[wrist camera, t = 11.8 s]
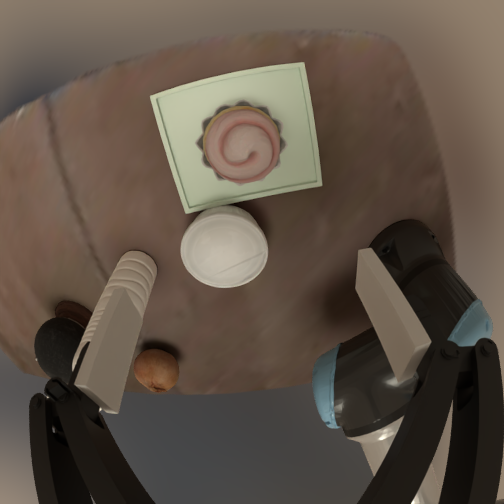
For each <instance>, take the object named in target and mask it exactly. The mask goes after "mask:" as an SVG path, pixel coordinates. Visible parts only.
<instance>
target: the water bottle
mask: <svg viewBox="0 0 504 504" xmlns="http://www.w3.org/2000/svg"><path fill="white" fill-rule="evenodd" d="M156 276H157V266H156V264H155V262H154V260H153V259H152V258H151V257H150V256H149V255H146V254H145V253H143V252H141V251H129V252H126V253H125V254H124V255H123V256H122V257H121V258H120V260H119V262H118V264H117V266H116V268H115V270H114V271H113V274H112V276H111V277H110V279H109V281H108V283H107V285H106V287H105V289H104V292H103V293H102V295H101V297H100V299H99V302H98V303H97V305H96V307H95V310H94V312H93V315H92V317H91V319H90V321H89V323H88V326H87V328H86V330H85V332H84V335H83V337H82V340H81V342H80V345H79V347H78V349H77V351H76V353H75V356H74V359H73V363H72V370H74V367H75V364H77V363H76V362H77V359H78V358H79V354H80V352H81V349H82V348H83V347H84V345H85V344H86V343H87V341H91V339H92V337H93V334H94V332H95V330H96V327H97V325H98V323H99V321H100V318H101V316H102V314H103V312H104V310H105V307H106V305H107V303H108V301H109V299H110V297H111V295H112V293H113V291H114V289H118V288H125V289H126V291H127V293H128V295H129V296H130V298H131V300H132V302H133V304H134V305H135V307H136V309H137V311H138V312H139V314H140V316H141V318H142V319H143V316H144V311H145V309H146V305H147V302H148V300H149V296H150V293H151V290H152V287H153V284H154V282H155V279H156ZM47 398H49V397H48V396H47ZM101 410H102V409H101V408H100V409H99V411H101Z"/></svg>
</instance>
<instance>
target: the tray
mask: <svg viewBox="0 0 504 504" xmlns="http://www.w3.org/2000/svg"><path fill="white" fill-rule="evenodd" d="M150 98H151V102H152V106H153V110H154V113H155V117H156V120H157V124H158V127H159V131H160V134H161V138H162V141H163V144H164V148H165V151H166V154H167V158H168V161H169V164H170V167H171V170H172V174H173V177H174V180H175V183H176V186H177V189H178V192H179V195H180V198H181V201H182V204H183V207H184V210H185V213H186V214H188V213H192V212H196V211H200V210H204V209H209V208H213V207H217V206H222V205H226V204H231V203H236V202H240V201H245V200H250V199H255V198H260V197H265V196H270V195H275V194H280V193H285V192H290V191H296V190H301V189H307V188H313V187H319V186H322V177H321V168H320V159H319V151H318V143H317V136H316V129H315V122H314V116H313V109H312V103H311V97H310V92H309V86H308V81H307V75H306V70H305V65H304V62H302V63H291V64H282V65H274V66H267V67H261V68H254V69H249V70H243V71H238V72H233V73H228V74H224V75H219V76H215V77H211V78H207V79H203V80H199V81H196V82H192V83H189V84H185V85H182V86H178V87H175V88H172V89H169V90H166V91H163V92H160V93H157V94H154V95H151V96H150ZM243 99H244V100H247V101H249V102H250V103H251V104H252V105H254V106H259V105H265V106H268V107H269V109H270V111H271V115H272V117H273V118H275V119H278V120H280V121H281V122H282V123H283V131H282V134H281V135H282V137H283V138H284V139H285V141H286V142H287V144H288V146H287V148H286V149H285V150H284V151H283V152H282V153H281V154H280V162H281V164H280V167H279V168H277V169H273V170H272V171H271V172H270V173H269V174H268V175H267V176H266V177H265V179H264V180H263V181H255V182H251V183H245V184H244V185H242V186H238V185H236V184H235V183H234V182H230V181H228V180H223V181H218V180H217V179H216V177H215V174H214V171H213V169H209V168H206V167H205V166H204V165H203V164H202V161H201V158H202V154H203V153H202V152H201V151H200V149H199V148H198V147H197V146H196V144H195V142H196V140H197V139H198V138H199V137H200V135H201V134H202V133H203V132H202V127H201V123H202V120H204V119H205V118H207V117H210V116H213V115H214V113H215V110H216V108H218V107H219V106H220V105H223V104H228V105H234V104H235V103H236V102H238V101H240V100H243Z"/></svg>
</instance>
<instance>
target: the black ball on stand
mask: <svg viewBox="0 0 504 504" xmlns="http://www.w3.org/2000/svg"><path fill="white" fill-rule="evenodd" d="M55 314H56V318H52V319H50V320H48V321H46V322H45V323H44V324H43V325H42V326H41V327H40V329H39V330H38V332H37V334H36V337H35V344H34V348H35V354H36V358H37V361H38V363H39V365H40V367H41V368H42V369H43V371H44V372H45V373H46V374H47V375H48V376H49V377H51V378H53V377H59V378H61V379H62V380H63V381H64V382H65V383H69V380H70V378H71V375H72V372H73V370H72V363H73V359H74V356H75V353H76V351H77V349H78V347H79V345H80V342H81V340H82V337H83V335H84V332H85V330H86V328H87V326H88V323H89V321H90V319H91V317H92V315H93V314H92V313H91V312H90V311H89V310H88V309H87V308H85V307H84V306H82V305H80V304H78V303H75V302H73V301H62V302H60V303H59V304H58V305H57V307H56V309H55Z"/></svg>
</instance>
